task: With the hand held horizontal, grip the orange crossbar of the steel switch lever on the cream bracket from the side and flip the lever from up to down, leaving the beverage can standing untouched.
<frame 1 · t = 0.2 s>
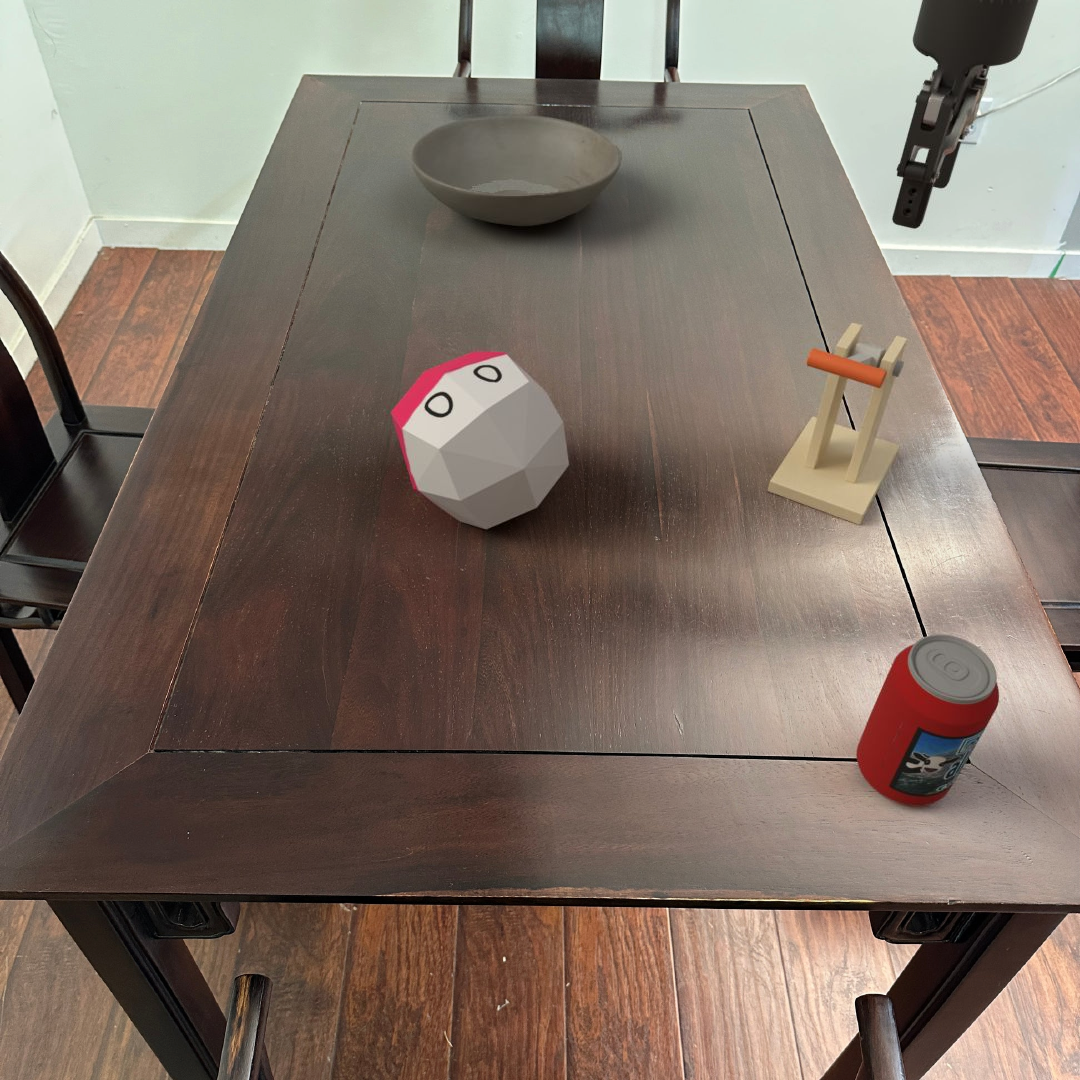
hand: (920, 204, 78), 26 cm above the table, tool pointing down, fingers open, 8 cm apart
lever: (857, 363, 81), point 15 cm above the table, hinge at 25.0°
bracket: (833, 472, 94), on the table
decorative object: (482, 498, 90), on the table
beverage can: (900, 772, 70), on the table
bowl: (517, 211, 134), on the table
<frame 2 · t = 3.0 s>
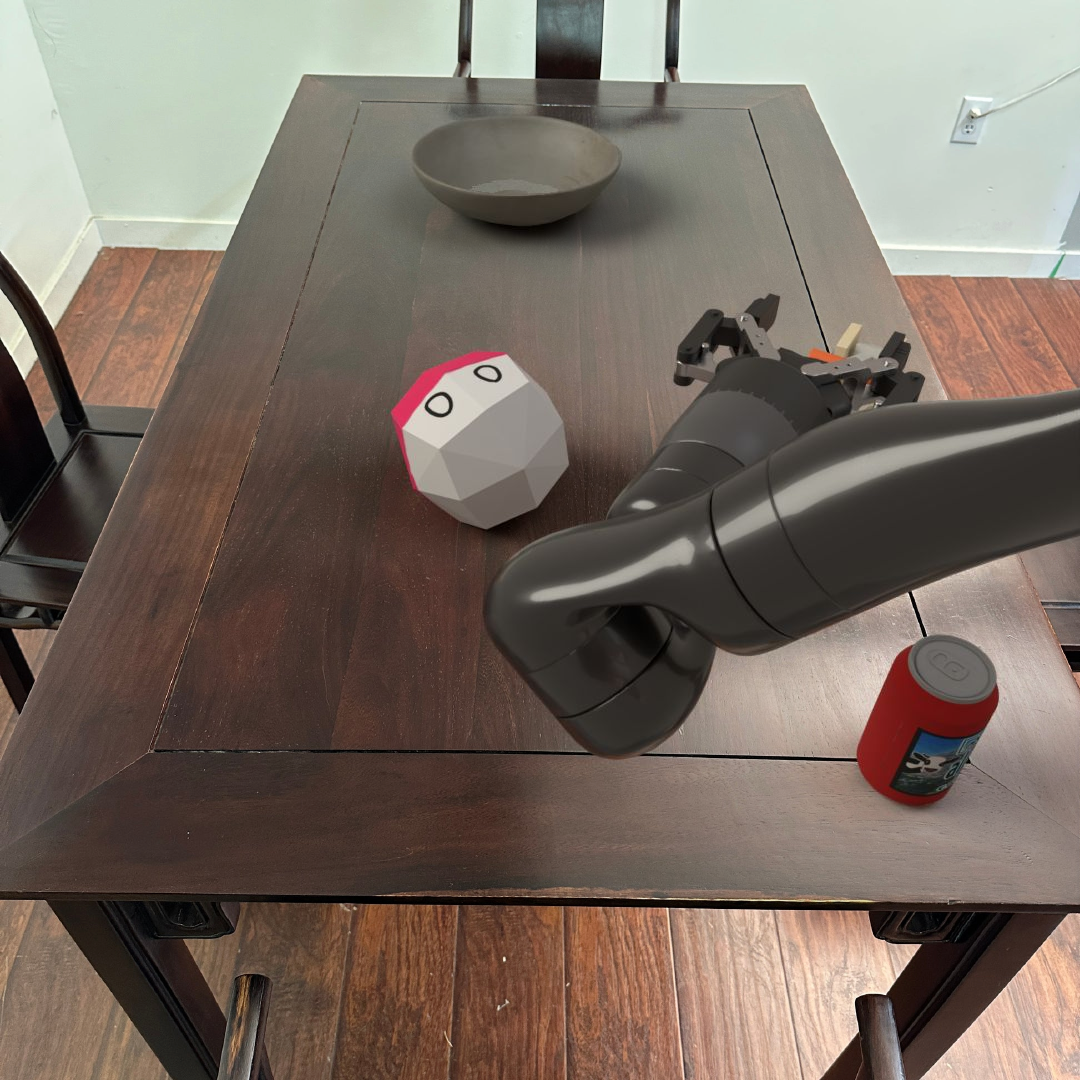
hand: (833, 325, 64), 26 cm above the table, tool horizontal, fingers open, 8 cm apart
nothing on the table moved.
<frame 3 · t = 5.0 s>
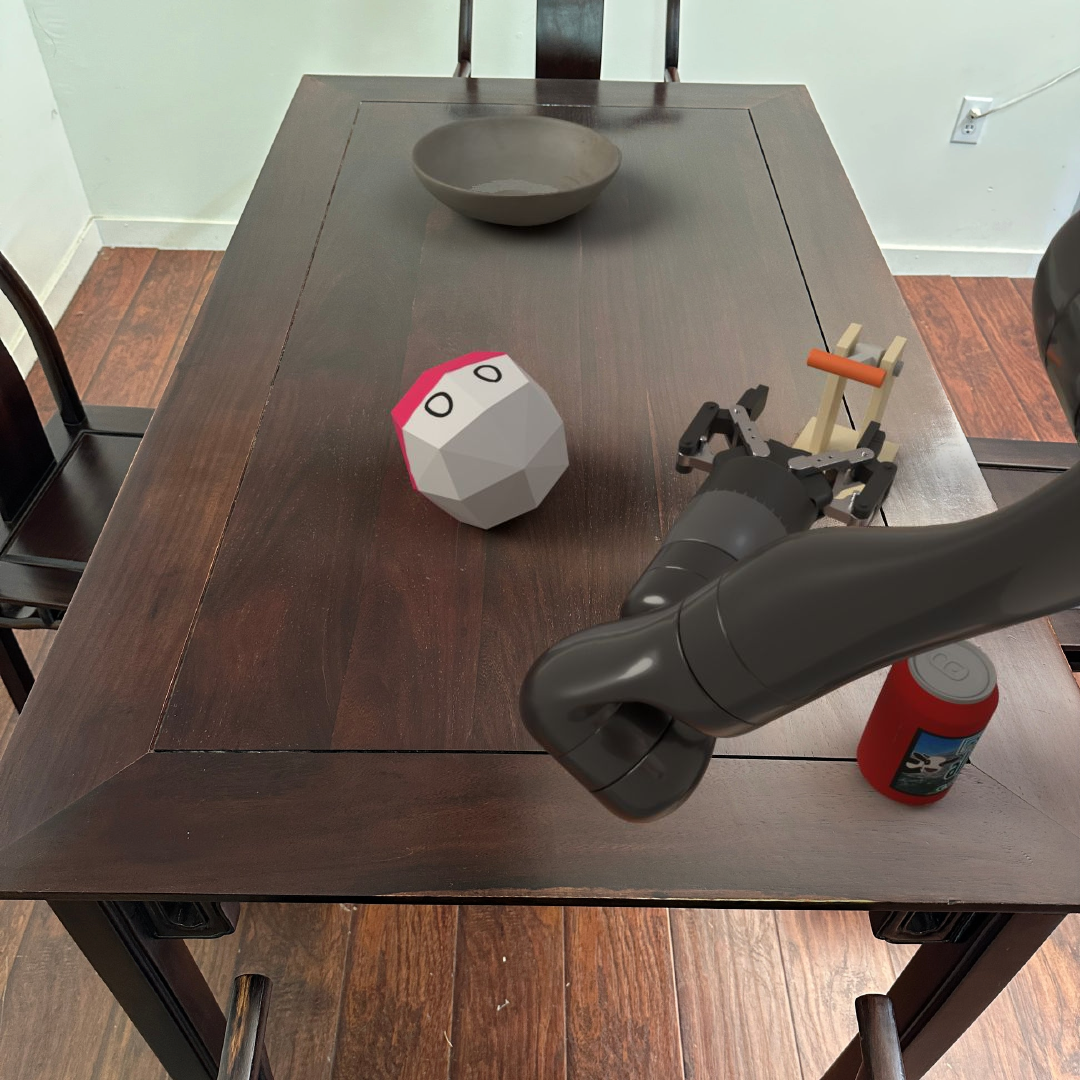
hand: (816, 412, 72), 17 cm above the table, tool horizontal, fingers open, 8 cm apart
nothing on the table moved.
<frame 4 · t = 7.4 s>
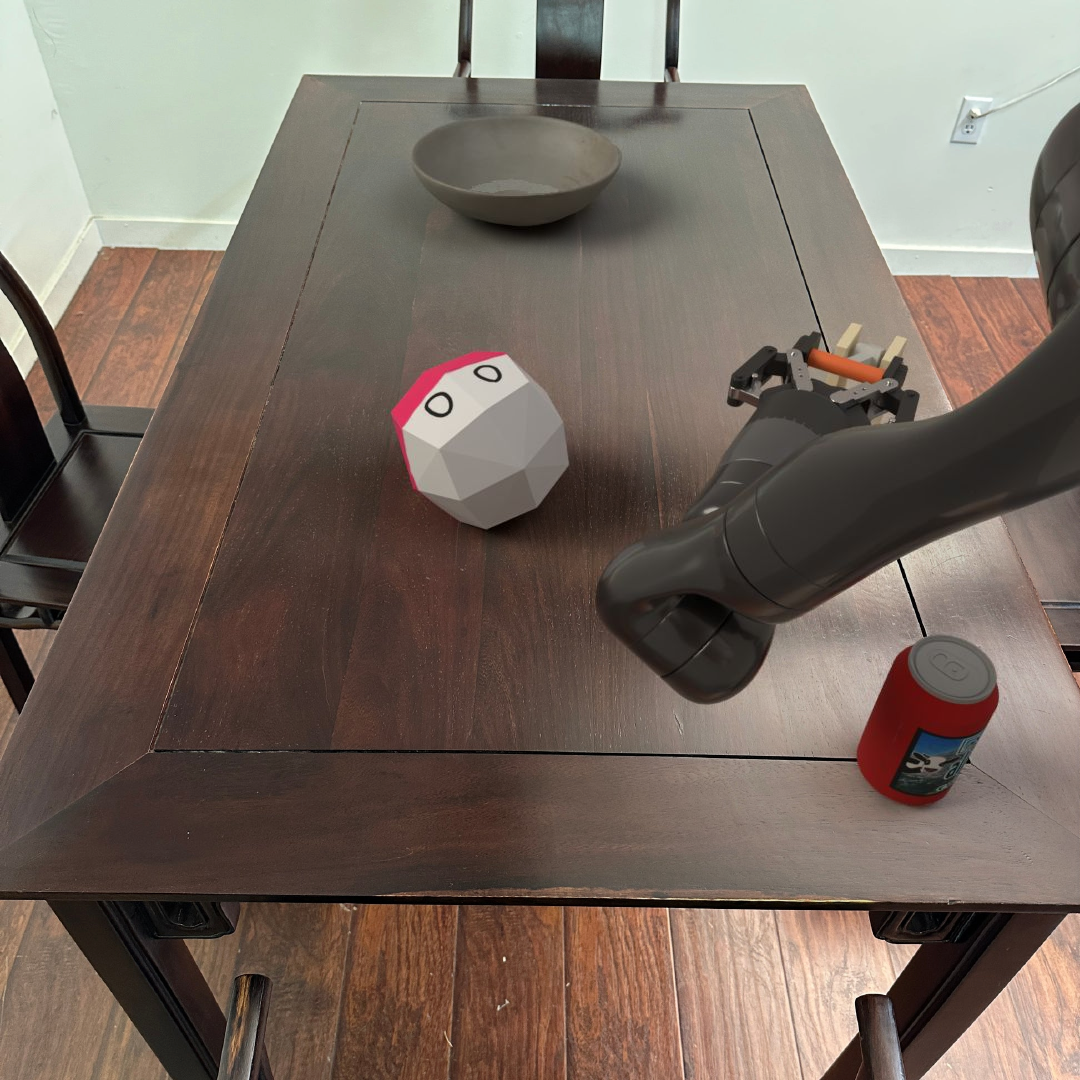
hand: (854, 354, 78), 17 cm above the table, tool horizontal, fingers closed on lever, 6 cm apart
lever: (857, 363, 81), point 15 cm above the table, hinge at 25.0°, touching gripper
everything else where it was.
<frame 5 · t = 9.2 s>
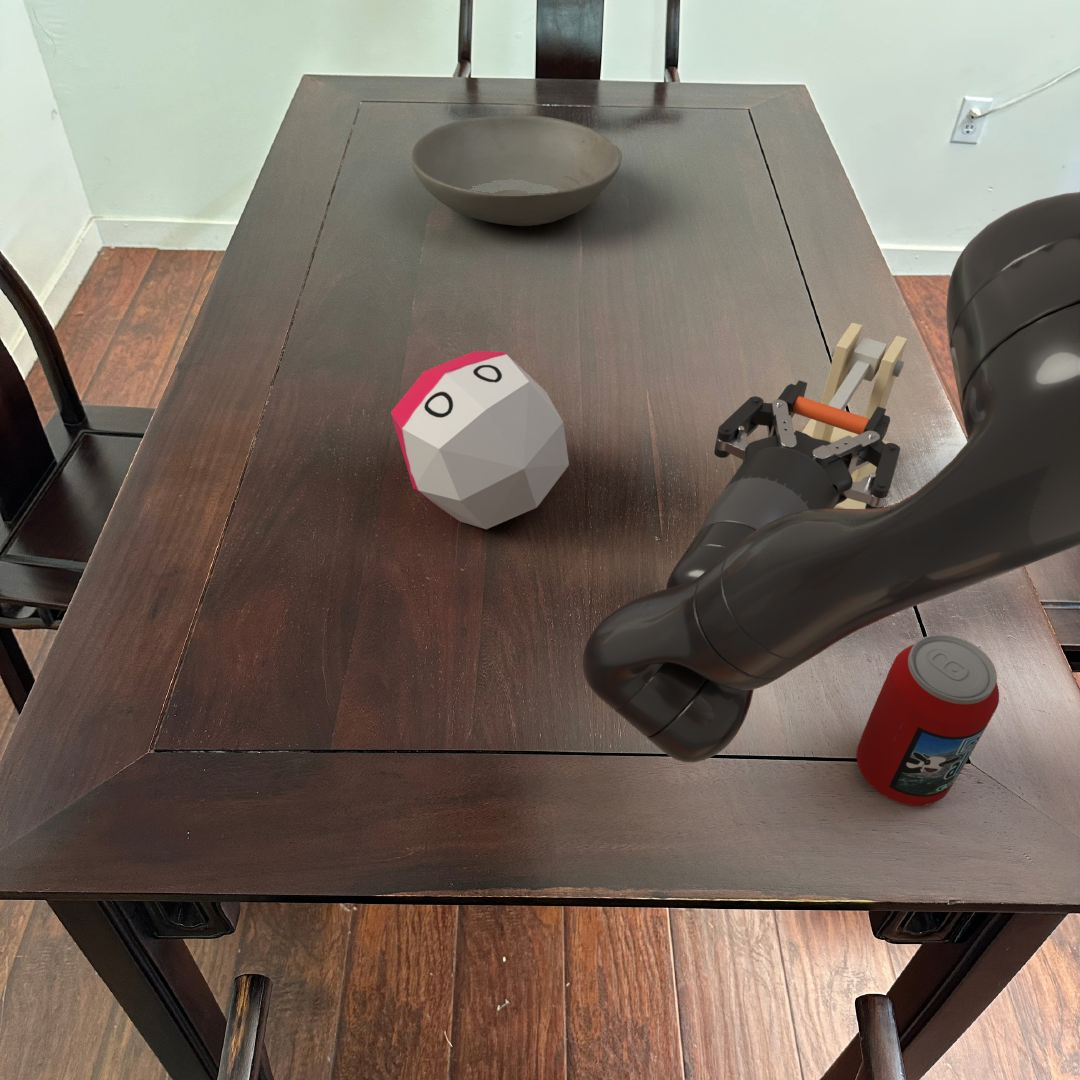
hand: (839, 403, 80), 13 cm above the table, tool horizontal, fingers closed on lever, 6 cm apart
lever: (850, 384, 82), point 13 cm above the table, hinge at 0.8°, touching gripper
everything else where it was.
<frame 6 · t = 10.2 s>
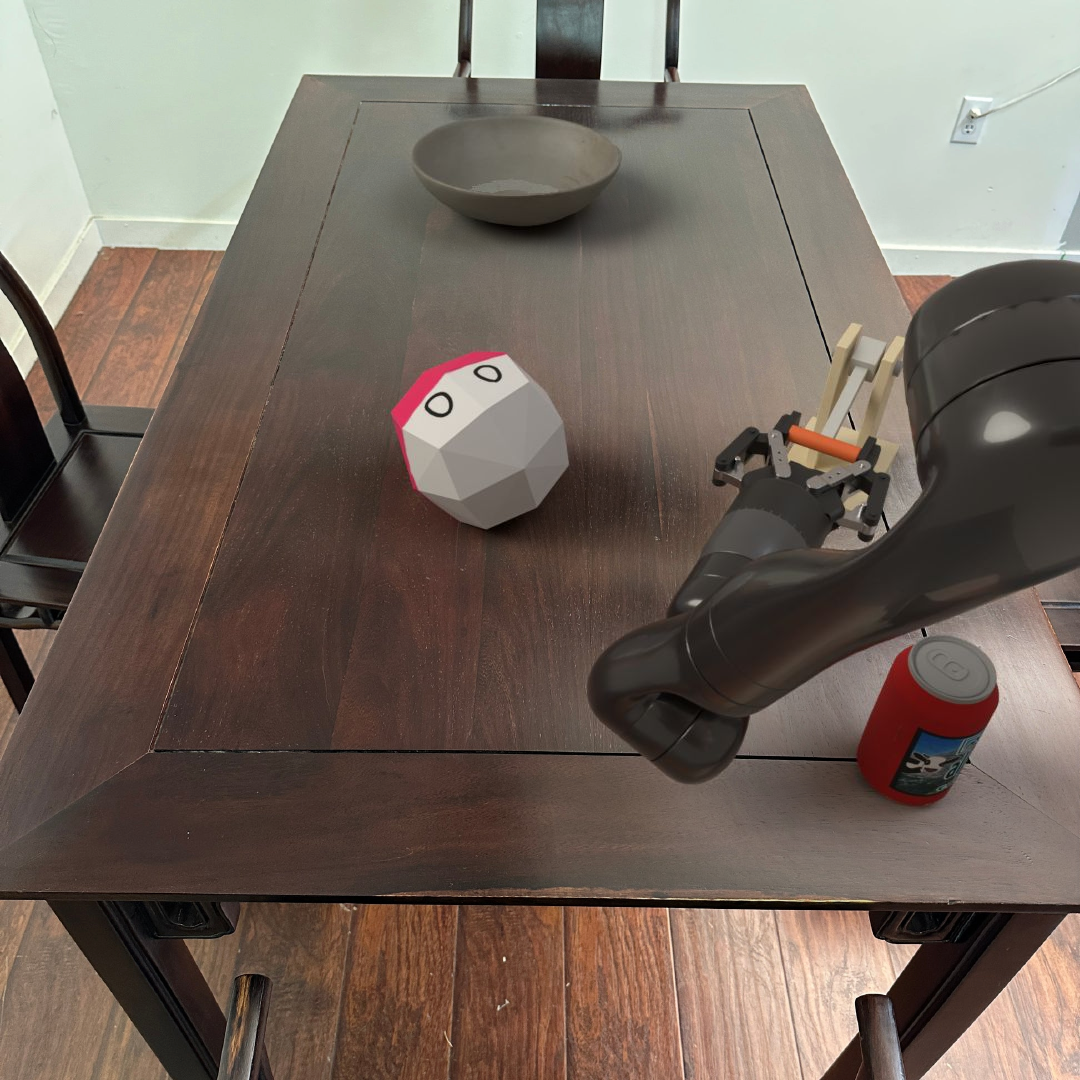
hand: (832, 432, 83), 9 cm above the table, tool horizontal, fingers closed on lever, 6 cm apart
lever: (847, 397, 83), point 12 cm above the table, hinge at -18.2°, touching gripper
everything else where it was.
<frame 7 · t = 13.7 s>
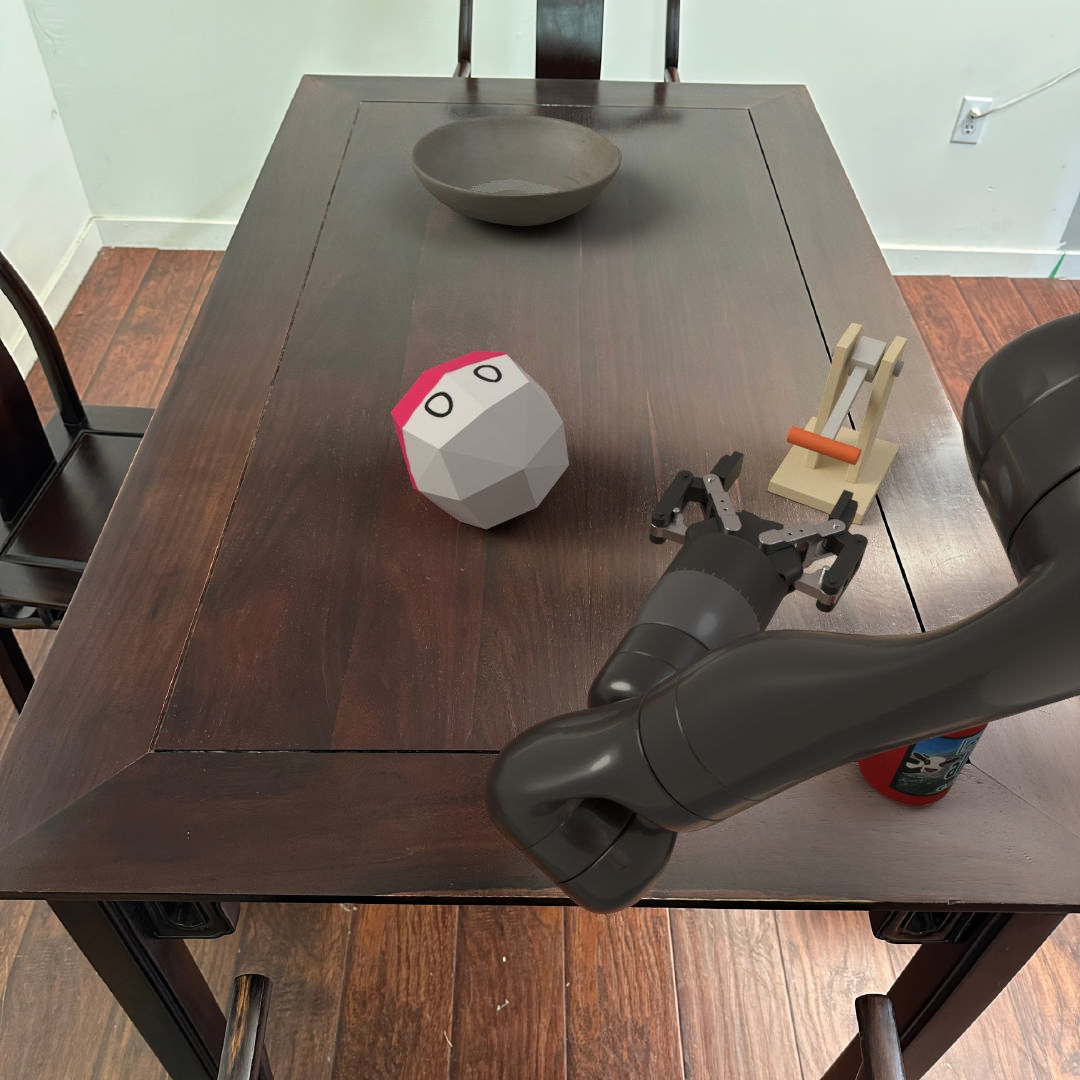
hand: (791, 480, 72), 13 cm above the table, tool horizontal, fingers open, 8 cm apart
lever: (847, 398, 83), point 11 cm above the table, hinge at -19.2°
everything else where it was.
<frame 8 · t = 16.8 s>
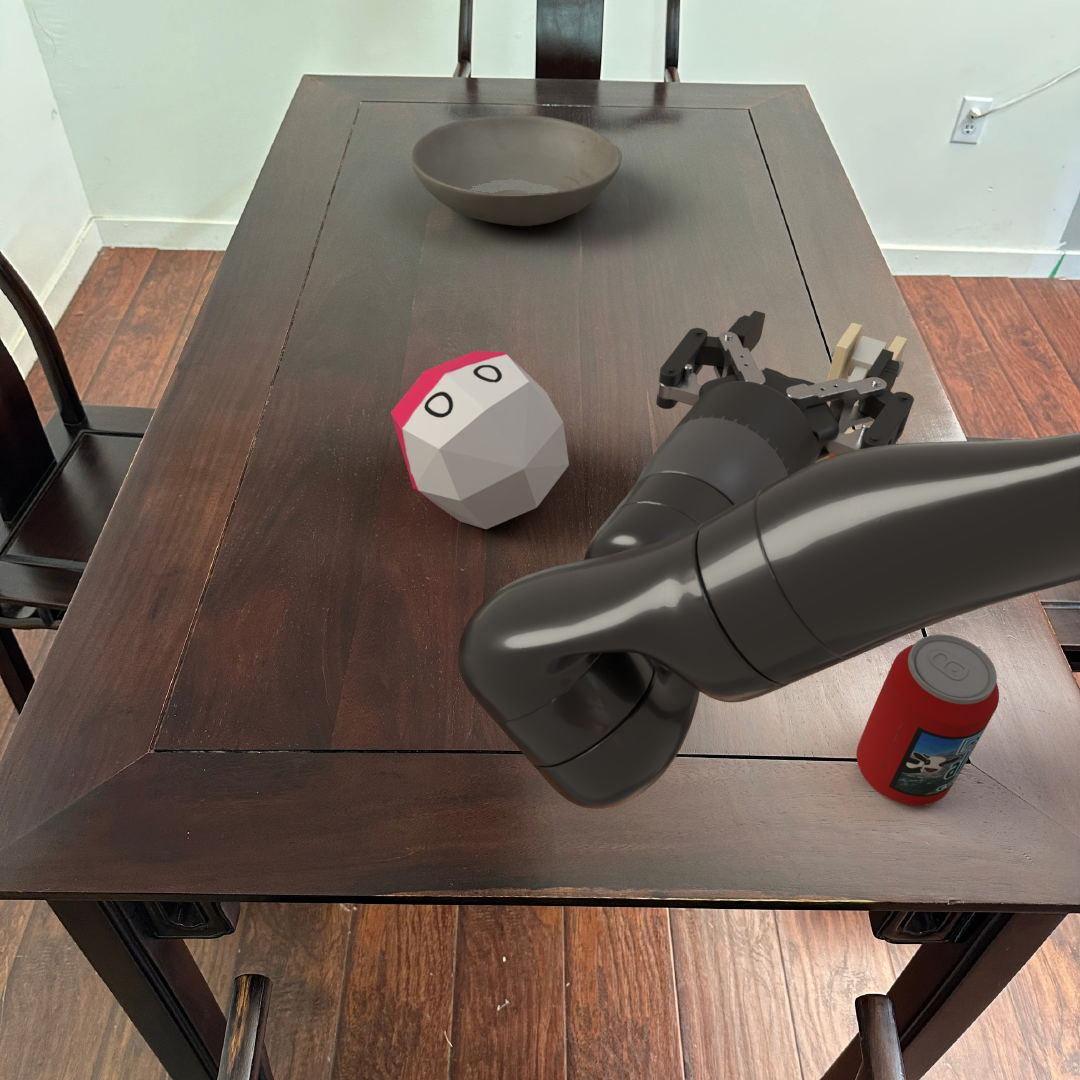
hand: (819, 342, 63), 26 cm above the table, tool horizontal, fingers open, 8 cm apart
nothing on the table moved.
at the end: lever at -19° (first picture: +25°); beverage can moved 0.2 cm from its start; beverage can tilted 0° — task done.
